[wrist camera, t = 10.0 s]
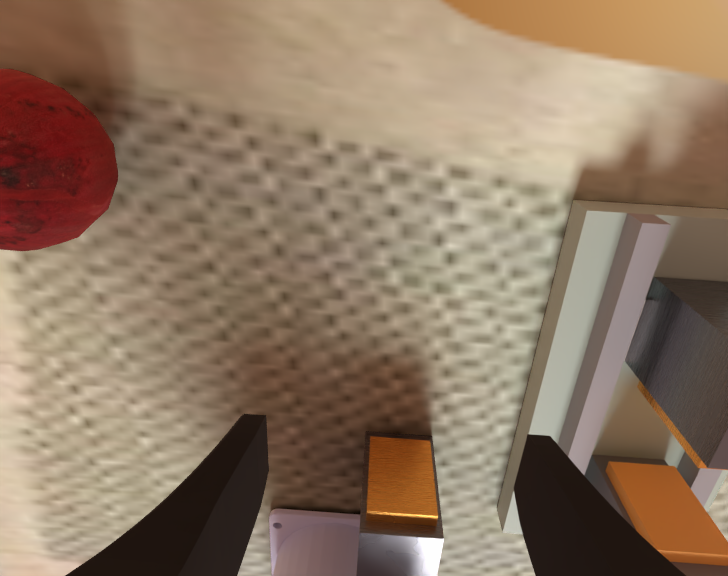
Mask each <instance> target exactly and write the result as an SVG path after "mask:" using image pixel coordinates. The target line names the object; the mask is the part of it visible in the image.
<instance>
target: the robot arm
mask: <svg viewBox="0 0 728 576" xmlns="http://www.w3.org/2000/svg"><path fill="white" fill-rule="evenodd" d="M268 471H269V465H268V445H267V425H266V415H252V414H244V415H242V416H241V417H240V418H239V419H238V421H237V422H236V423H235V424H234V426H233V427H232V428H231V429H230V430H229V432H228V433H227V434H226V435H225V436H224V438H223V439H222V440H221V441H220V442H219V444H218V445H217V446H216V447H215V448H214V449H213V450H212V452H211V453H210V454H209V455H208V456H207V457H206V458H205V459H204V460H203V461H202V462H201V464H200V465H199V466H198V467H197V468H196V469H195V470H194V471H193V472H192V473H191V474H190V475H189V476H188V477H187V478H186V479H185V480H184V481H183V482H182V483H181V484H180V485H179V486H178V487H177V488H176V489H175V490H174V491H173V492H172V493H171V494H170V495H169V496H168V497H167V498H166V499H165V500H163V501H162V502H161V503H160V504H159V505H158V506H157V507H156V508H155V509H153V510H152V511H151V512H150V513H149V514H148V515H147V516H145V517H144V518H143V519H142V520H141V521H139V522H138V523H137V524H136V525H135V526H133V527H132V528H131V529H130V530H128V531H127V532H126V533H124V534H123V535H122V536H121V537H119V538H118V539H117V540H116V541H114V542H113V543H112V544H110V545H109V546H108V547H106V548H105V549H104V550H102V551H101V552H99V553H98V554H97V555H95V556H94V557H92V558H91V559H89V560H88V561H86V562H85V563H84V564H82V565H81V566H79V567H78V568H76V569H75V570H73V571H72V572H70V573H69V574H67V575H66V576H237V574H238V571H239V569H240V566H241V563H242V560H243V557H244V554H245V551H246V548H247V545H248V542H249V539H250V537H251V534H252V531H253V528H254V525H255V522H256V519H257V516H258V513H259V510H260V507H261V503H262V498H263V494H264V490H265V485H266V480H267V476H268ZM514 494H515V500H516V505H517V511H518V516H519V521H520V526H521V529H522V533H523V536H524V539H525V543H526V546H527V549H528V553H529V556H530V559H531V562H532V565H533V569H534V572H535V575H536V576H686V575H685V574H684V573H683V572H681V571H680V570H679V569H678V568H677V567H675V566H674V565H673V564H672V563H671V562H670V561H669V560H668V559H666V558H665V557H664V556H663V555H662V554H661V553H660V552H659V551H657V550H656V549H655V548H654V547H653V546H652V545H651V544H650V543H649V542H648V541H646V540H645V539H644V538H643V537H642V536H641V535H640V534H639V533H638V532H637V531H636V530H635V529H634V528H633V527H632V526H631V525H630V524H629V523H628V522H627V521H626V520H625V519H624V518H623V517H622V516H621V515H620V514H619V513H618V512H617V511H616V510H615V509H614V508H613V507H612V506H611V505H610V503H609V502H608V501H607V500H606V499H605V498H604V497H603V496H602V495H601V494H600V493H599V492H598V490H597V489H596V488H595V487H594V486H593V485H592V484H591V483H590V482H589V480H588V479H587V478H586V477H585V476H584V475H583V474H582V472H581V471H580V470H579V469H578V468H577V467H576V465H575V464H574V463H573V462H572V461H571V460H570V458H569V457H568V456H567V455H566V454H565V453H564V451H563V450H562V449H561V448H560V447H559V446H558V444H557V443H556V442H555V441H554V440H553V439H552V437H551V436H546V435H532V434H527V438H526V442H525V446H524V450H523V454H522V457H521V461H520V465H519V469H518V473H517V477H516V480H515V484H514ZM359 527H360V515H358V514H344V513H331V512H318V511H305V510H291V509H273V510H272V511H271V512H270V516H269V530H270V549H271V568H272V576H356V574H357V558H358V542H359Z"/></svg>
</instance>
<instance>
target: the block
mask: <svg viewBox="0 0 728 576" xmlns="http://www.w3.org/2000/svg"><path fill="white" fill-rule="evenodd" d="M443 541H444V537H443V528H442V519H441V510H440V501H439V493H438V484H437V475H436V466H435V457H434V449H433V440H432V436H422V435H408V434H395V433H381V432H367V431H366V435H365V450H364V465H363V479H362V495H361V511H360V527H359V542H358V558H357V574H356V576H437V573H438V568H439V563H440V557H441V552H442V546H443Z"/></svg>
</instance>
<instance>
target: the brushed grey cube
mask: <svg viewBox="0 0 728 576" xmlns="http://www.w3.org/2000/svg"><path fill="white" fill-rule="evenodd" d="M625 362H626V363H627V365H628V366H629V367H630V368H631V370H632V371H633V372H634V374H635V375H636V376H637V378H638V379H639V383H638V385H637V388H638V389H639V390H640V392H641V393H642V394H643V396H644V397H645V398H646V399H647V401H648V402H649V403H650V405H651V406H652V407H653V409H654V410H655V411H656V413H657V414H658V415H659V417H660V418H661V419H662V421H663V422H664V423H665V425H666V426H667V427H668V429H669V430H670V431H671V433H672V434H673V435H674V437H675V438H676V439H677V441H678V442H679V443H680V445H681V446H682V447H683V449H684V450H685V451H686V453H687V454H688V455H689V457H690V458H691V459H692V461H693V462H694V463H695V465H696V466H697V467H698V468H706V469H719V470H728V282H721V281H707V280H692V279H678V278H663V277H654V279H653V281H652V284H651V287H650V290H649V293H648V296H647V298H646V301H645V304H644V307H643V310H642V313H641V316H640V318H639V321H638V324H637V327H636V330H635V333H634V335H633V338H632V341H631V344H630V347H629V350H628V352H627V355H626V358H625Z"/></svg>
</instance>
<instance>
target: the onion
mask: <svg viewBox="0 0 728 576" xmlns="http://www.w3.org/2000/svg"><path fill="white" fill-rule="evenodd" d="M117 181H118V170H117V163H116V157H115V150H114V144H113V143H112V141H111V140H110V138H109V136H108V135H107V133H106V132H105V130H104V128H103V127H102V125H101V124H100V122H99V121H98V119H97V117H96V116H95V115H94V114H93V112H91V111H90V110H89V109H88V108H86V107H85V106H84V105H83V104H82V103H80V102H79V101H78V100H77V99H75V98H74V97H73V96H72V95H71V94H69V93H68V92H67V91H66V90H64V89H63V88H61V87H59V86H56V85H54V84H52V83H49V82H47V81H45V80H42V79H40V78H38V77H35V76H33V75H31V74H27V73H24V72H20V71H17V70H13V69H0V249H3V250H15V251H29V250H38V249H42V248H45V247H49V246H52V245H56V244H59V243H63V242H66V241H69V240H71V239H74V238H77V237H79V236H80V235H81V234H82V233H83V232H84V231H85V230H86V229H87V228H88V227H89V226H90V225H91V224H92V223H93V222H94V221H95V220H97V219H98V218H99V217H100V216H101V215H102V214H103V213H104V212H105V211H106V210H107V209H108V208H109V205H110V202H111V199H112V196H113V193H114V190H115V187H116V184H117Z"/></svg>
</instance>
